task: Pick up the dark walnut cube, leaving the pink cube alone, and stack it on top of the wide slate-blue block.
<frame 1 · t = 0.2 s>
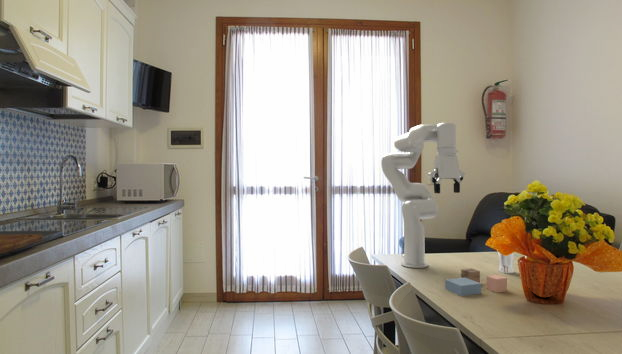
hand: (447, 192, 169), 36 cm above the table, tool pointing down, fingers open, 9 cm apart
walnut cube: (470, 282, 163), on the table
base block: (462, 292, 151), on the table
beer glass: (506, 272, 179), on the table
pink cube: (496, 290, 152), on the table
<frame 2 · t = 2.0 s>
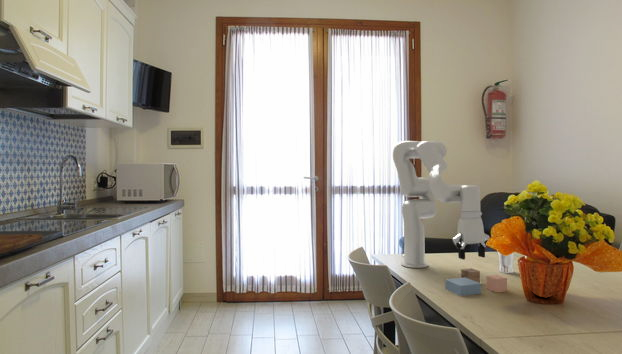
hand: (471, 257, 162), 10 cm above the table, tool pointing down, fingers open, 9 cm apart
nothing on the table moved.
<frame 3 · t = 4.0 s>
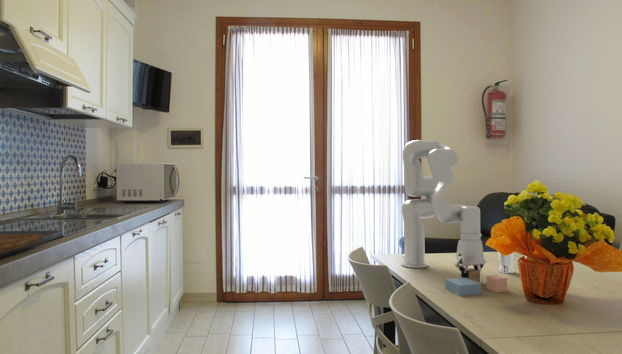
hand: (470, 280, 163), 0 cm above the table, tool pointing down, fingers closed on walnut cube, 4 cm apart
walnut cube: (470, 282, 163), on the table, touching gripper
everything else where it was.
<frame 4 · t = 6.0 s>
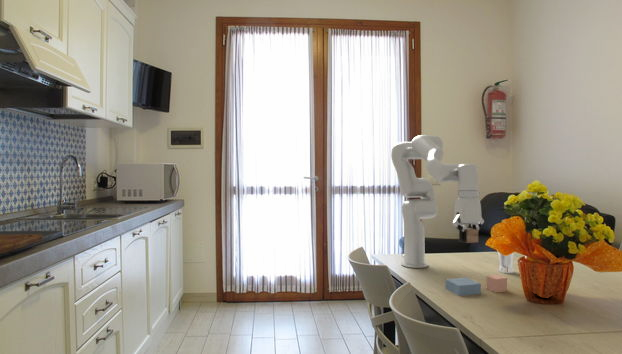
hand: (468, 240, 159), 18 cm above the table, tool pointing down, fingers closed on walnut cube, 4 cm apart
walnut cube: (468, 241, 159), point 17 cm above the table, touching gripper
everything else where it was.
when the fingers open (5 cm above the table, at t = 8.5 s): walnut cube drops 1 cm, resting on base block.
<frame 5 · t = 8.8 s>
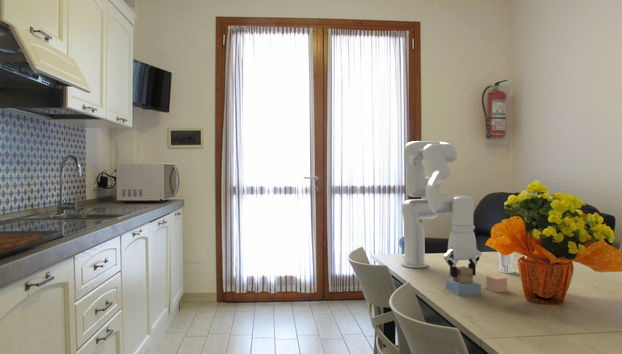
hand: (462, 275, 151), 6 cm above the table, tool pointing down, fingers open, 7 cm apart
walnut cube: (462, 281, 151), point 4 cm above the table, touching base block
base block: (462, 292, 151), on the table, touching walnut cube
everything else where it was.
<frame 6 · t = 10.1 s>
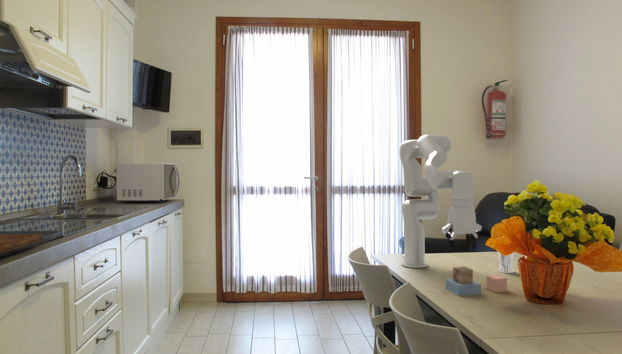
hand: (461, 249, 151), 16 cm above the table, tool pointing down, fingers open, 9 cm apart
nothing on the table moved.
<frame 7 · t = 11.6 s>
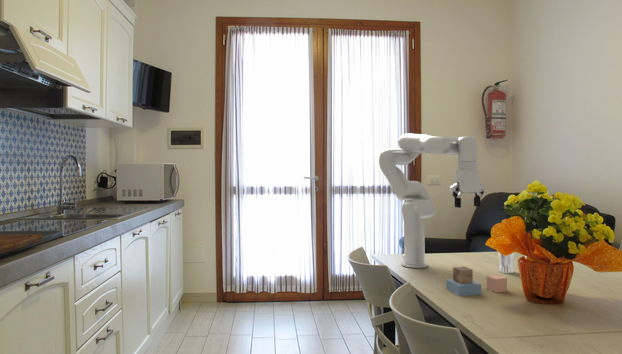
hand: (467, 206, 168), 30 cm above the table, tool pointing down, fingers open, 9 cm apart
nothing on the table moved.
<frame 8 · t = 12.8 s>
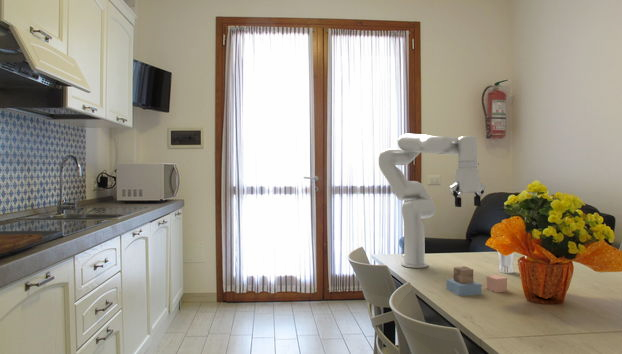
hand: (467, 206, 168), 30 cm above the table, tool pointing down, fingers open, 9 cm apart
nothing on the table moved.
at the end: walnut cube 0.2 cm off-centre on the base block, point 4.0 cm above the base block's base; walnut cube tilted 0°; the gripper is holding nothing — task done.
